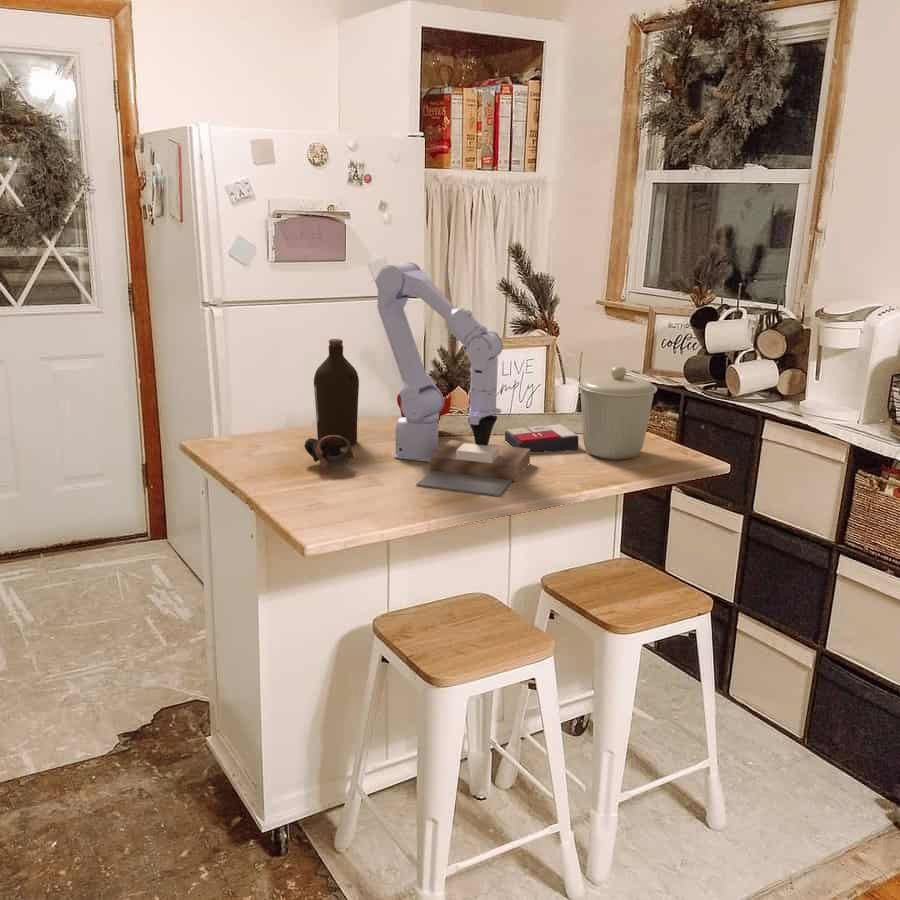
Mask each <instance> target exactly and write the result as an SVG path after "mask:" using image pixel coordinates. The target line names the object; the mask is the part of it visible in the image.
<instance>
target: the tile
mask: <svg viewBox="0 0 900 900" xmlns="http://www.w3.org/2000/svg"><path fill="white" fill-rule="evenodd" d="M498 456H499V447H496V446H487V445H478V444H468V443H463V444H462V445H461V446H460V447H459V448H458V449H457V450H456V459H459V460H468V461H477V462H486V463H492V462H493V461H494V460H495V459H496V458H497V457H498Z"/></svg>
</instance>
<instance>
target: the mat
mask: <svg viewBox="0 0 900 900" xmlns="http://www.w3.org/2000/svg"><path fill="white" fill-rule="evenodd" d="M510 483H511V484H512V480H504V479H496V478H488V477H480V476H472V475H464V474H455V473H447V472H439V471H431V472H428V473H427V474H426V475H425V476H424V477H423V478H422V479H420V480H419V481H418V482H417V483H416V485H415V486H416V487H420V488H421V487H422V488H428V489H437V488H438V489H439V490H444V489H445V490H446V491H452V490H453V491H454V492H459V491H462V492H461V493H467V492H470V494H475V493H480V494H479V495H483V494H488V495H487V496H490V495H497V496H496V497H498V496H500V495H501V496H502V494H503V493H504V492H505V491H506V490H507V488H508V487H509V486H510V485H511V484H510ZM509 484H510V485H509ZM508 485H509V486H508ZM505 489H506V490H505ZM504 490H505V491H504ZM503 491H504V492H503ZM502 492H503V493H502ZM501 496H500V497H501Z"/></svg>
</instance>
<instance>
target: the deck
mask: <svg viewBox="0 0 900 900" xmlns="http://www.w3.org/2000/svg"><path fill="white" fill-rule="evenodd" d="M463 443H468V444H475V442H471V441H462V440H454V439H450V440H449V441H447V442H446V443H445V444H444V445H442V446H441V447H440V448H438V451H437V452H435V453H434V454H433V455H432V456H430V462H429V463H430V464H429V465H430V466H429V467H430V468H429V469H430V472H431V471H439V472H447V473H455V474H464V475H472V476H480V477H488V478H496V479H504V480H512V481H515V480H516V481H517V480H518V478H519V477H520V476H521V475H522V474H523V472H524V471H525V470H526V469H527V467H529V465H530V464H529V463H531V461H530V460H531V453H530V449H527V448H518V447H511V446H510V445H499V444H489V443H488V446H496V447H499V456H498V457H497V458H496V459H495V460H494V461H493V462H492V463H486V462H477V461H468V460H459V459H456V450H457V449H458V448H459V447H460V446H461V445H462V444H463ZM528 464H529V465H528ZM525 468H526V469H525ZM524 469H525V470H524ZM430 472H429V473H430ZM520 474H521V475H520ZM519 475H520V476H519ZM516 481H515V482H516Z"/></svg>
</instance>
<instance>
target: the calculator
mask: <svg viewBox="0 0 900 900" xmlns="http://www.w3.org/2000/svg"><path fill="white" fill-rule="evenodd" d="M505 441H507V442H508V443H509V444H510V445H511V446H512V447H518V448H527V449H530V452H542V453H545V452H544V451H551V452H557V451H561V452H566V451H565V450H572V451H578V450H579V436H578V435H577V434H576V433H574V432H573V431H571V430H569V429H568V428H566V427H565V426H563V425H562V424H560V423H559V424H551V425H545V424H544V425H537V426H536V425H535V426H528V427H518V428H517V427H515V428H510V429H509V428H508V429H507V431H506V430H505V431H504V442H505ZM510 445H509V446H510ZM511 446H510V447H511Z"/></svg>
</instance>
